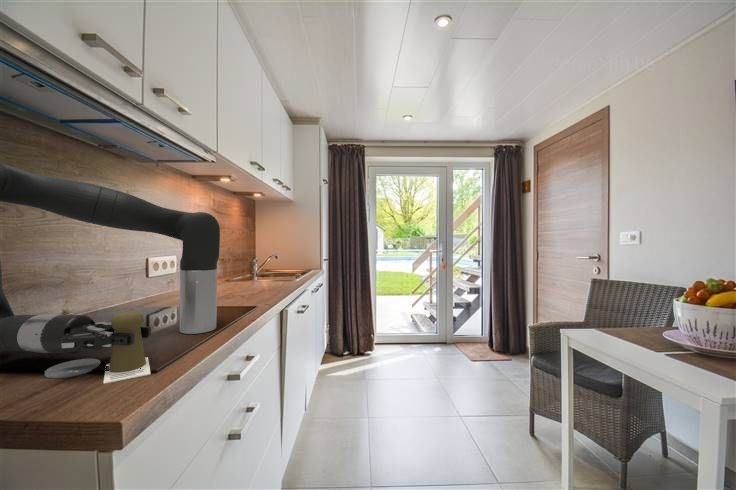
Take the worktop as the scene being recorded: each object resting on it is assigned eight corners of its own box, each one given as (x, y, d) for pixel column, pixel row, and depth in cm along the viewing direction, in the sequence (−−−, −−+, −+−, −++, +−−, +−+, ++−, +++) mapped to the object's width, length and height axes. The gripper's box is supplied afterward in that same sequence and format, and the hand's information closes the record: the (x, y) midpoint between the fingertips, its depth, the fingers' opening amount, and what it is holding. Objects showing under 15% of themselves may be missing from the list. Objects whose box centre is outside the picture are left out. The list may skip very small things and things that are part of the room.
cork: (102, 368, 63) (102, 313, 62) (136, 358, 68) (136, 307, 68) (118, 375, 60) (118, 317, 60) (152, 364, 65) (152, 311, 65)
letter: (106, 365, 65) (106, 364, 65) (148, 357, 69) (148, 356, 69) (103, 384, 57) (103, 382, 57) (150, 374, 61) (150, 373, 61)
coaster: (49, 367, 63) (49, 364, 63) (101, 358, 68) (101, 355, 68) (40, 382, 57) (40, 379, 57) (98, 371, 62) (98, 368, 62)
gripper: (18, 324, 57) (113, 327, 57) (89, 307, 71) (165, 309, 71) (18, 366, 57) (113, 368, 57) (89, 340, 71) (165, 342, 71)
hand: (141, 335), depth 64 cm, fingers closed on cork, 4 cm apart
